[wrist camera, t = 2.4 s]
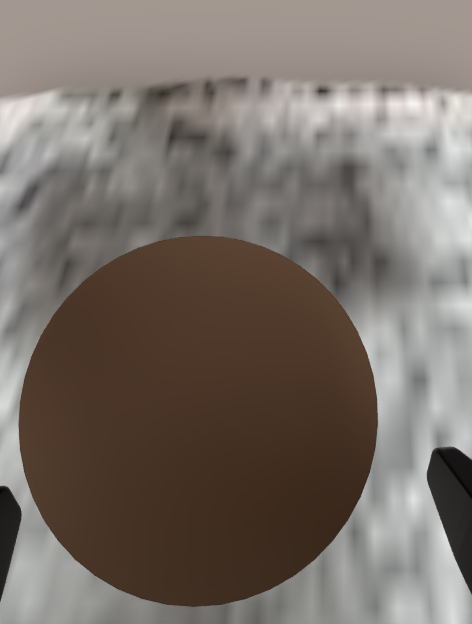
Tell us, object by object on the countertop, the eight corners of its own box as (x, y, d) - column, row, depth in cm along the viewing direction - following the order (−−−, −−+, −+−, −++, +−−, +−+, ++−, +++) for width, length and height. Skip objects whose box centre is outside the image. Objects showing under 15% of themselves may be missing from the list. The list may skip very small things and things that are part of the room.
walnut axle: (260, 483, 17) (305, 683, 4) (163, 441, 17) (-50, 505, 5) (297, 383, 18) (420, 304, 5) (204, 346, 18) (116, 193, 6)
